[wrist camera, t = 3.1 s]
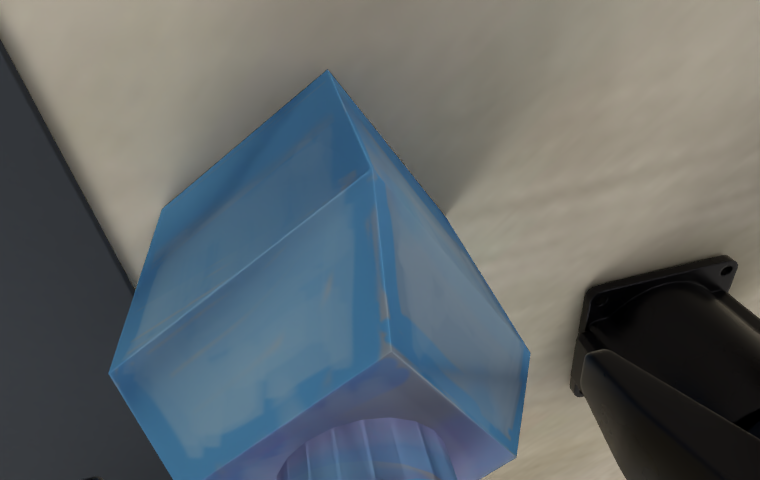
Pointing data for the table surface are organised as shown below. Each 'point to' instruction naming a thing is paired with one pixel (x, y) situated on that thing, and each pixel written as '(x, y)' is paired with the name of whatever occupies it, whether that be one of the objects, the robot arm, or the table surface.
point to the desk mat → (58, 316)
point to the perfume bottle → (318, 318)
